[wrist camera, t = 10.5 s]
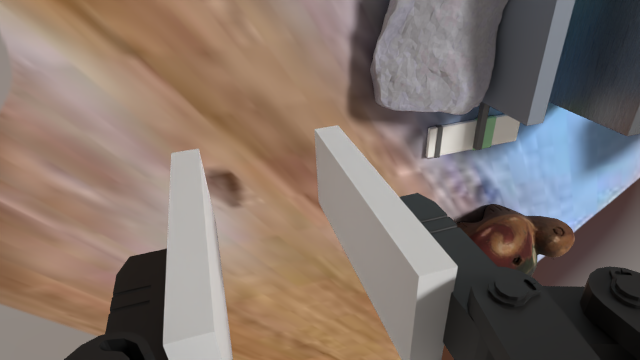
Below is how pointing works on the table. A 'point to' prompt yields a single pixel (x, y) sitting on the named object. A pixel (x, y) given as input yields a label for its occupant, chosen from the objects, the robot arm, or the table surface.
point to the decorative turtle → (518, 237)
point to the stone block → (436, 54)
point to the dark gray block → (602, 64)
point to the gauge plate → (525, 61)
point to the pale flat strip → (469, 135)
